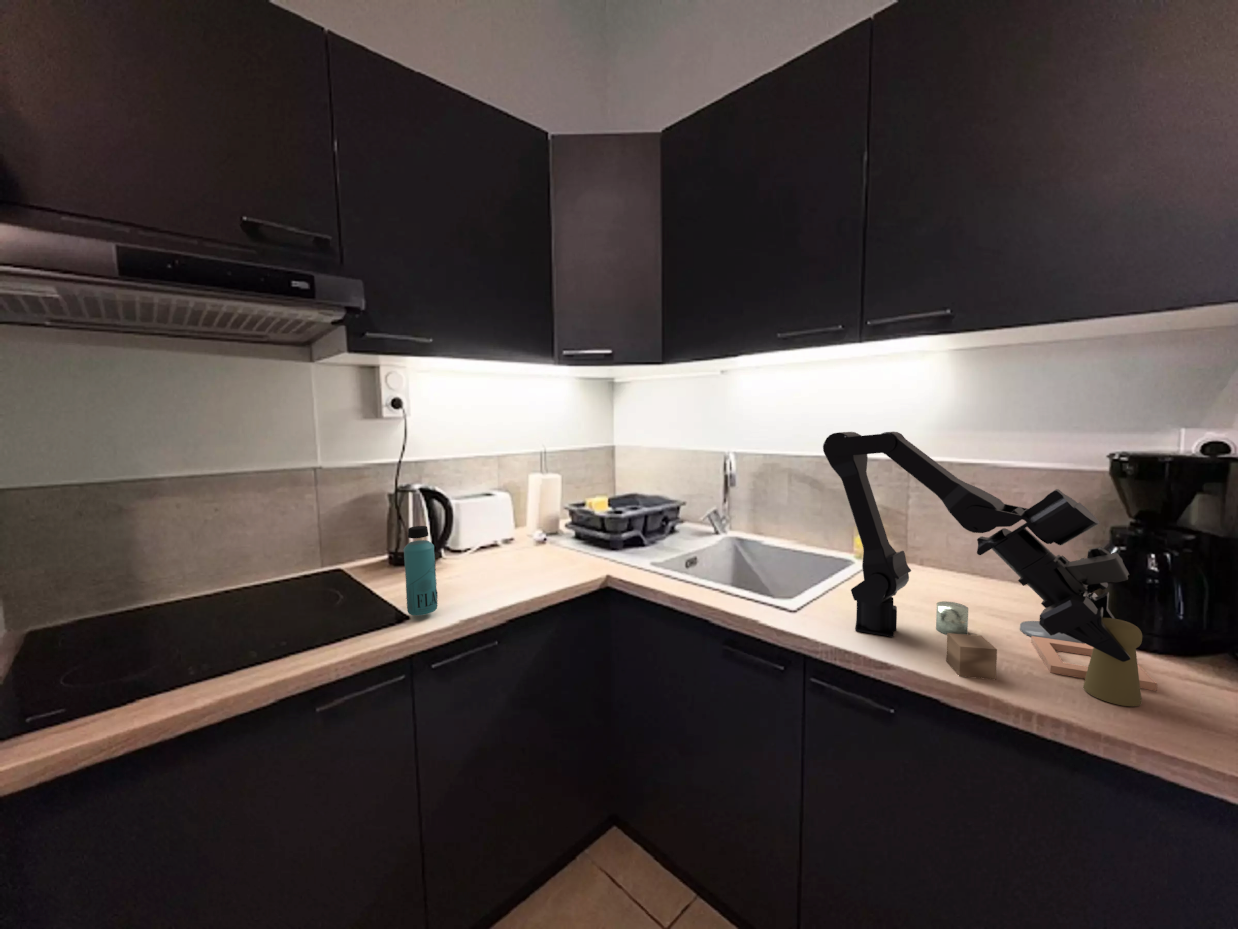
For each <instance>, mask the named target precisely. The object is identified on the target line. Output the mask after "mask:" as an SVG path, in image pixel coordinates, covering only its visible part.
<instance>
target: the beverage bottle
mask: <svg viewBox="0 0 1238 929" xmlns="http://www.w3.org/2000/svg"><path fill="white" fill-rule="evenodd" d="M426 537H429V529H428V526H426V525H416V526H411V527H409V528H408V529H407V538H408V539H421V540H414V541H410V542H408V543H407V544H406V545H405V546H404V548H403V558H404V559H403V561H404V575H405V593H406V594H405V595H406V596H405V597H406V598H405V599H406V609H407V610H406V611H407V613H408V614H409V615H411V616H423V615H429V614H431V613H433V612H435V611H436V610H438V599H439V598H438V597H439V596H438V588H437V585H438V584H437V583H438V582H437V581H438V580H437V574H436V572H437V567H436V566H437V565H436V564H437V563H436V555H435V545H434V544H433V543H432V542H431V541H430V540H426V539H423V540H422V538H426Z"/></svg>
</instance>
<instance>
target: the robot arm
mask: <svg viewBox="0 0 1238 929" xmlns="http://www.w3.org/2000/svg"><path fill="white" fill-rule="evenodd" d="M822 450H823V453H824V455H825V458H826V459H827V461H828V464H829V465H830V467H831V468H832V470H834V472H835V473H836V474H837V475H838V476H839V478H840V479H841V482H842V485H843V489H844V491H845V494H846V497H847V500H848V504H849V507H850V510H851V514H852V517H853V520H854V523H855V526H856V531H857V532H858V535H859V539H860V542H861V546H862V548H863V553H862V554H863V555H862V562H861V563H862V565H861V568H862V574H863V580H862V581H861V582H860V583H858V584H856V585H855V586H853V587H852V588H851V589H850V592H851V596H852V598H853V600H854V601H856V619H855V627H854V630H855V631H856V632H859V633H867V634H872V635H876V636H877V635H878V636H883V637H891V638H894V633H895V632H896V631H897V624H898V623H897V622H898V621H897V620H898V618H897V616H898V608H897V606H896V605H894V597H893V596H896V595H897V593H898V591H900V590H901V589H903V588H904V587H906V586H907V584H908V582H909V580H910V576H909V574H910V572H912V570H911V568H910V566H909V564H908V563H907V558H906V553H905V551H904V550H900V551H896V550H895V548H893V547H892V545H891V544H890V542H889V538H888V535H887V532H886V530H885V527H884V523H883V520H882V517H881V515H880V511H879V508H878V505H877V502H876V499H875V496H874V493H873V490H872V487H871V484H870V480H869V476H868V473H867V472H868V471H867V468H868V460H869V458H868V455H870V454H871V455H873V454H881V453H882V454H884V455H885V456H887V457H888V458H889V459H891V460H892V461H893V462H894V463H895V464H897V465H898V466H900V467H901V468H902V469H903V470H905V471H906V472H907V473H909V474H910V476H912V477H913V478H914V479H916V480H917V481H918V482H919V483H921V484H922V485H923V486H925V487H926V488H927V489H928V490H930V491H931V492H932V493H933V494H935V495H936V496H937V497H938V498H939V499H940V501H941V502H942V503H943V505H944V507H945V508H946V510H947V511H948V513H949V514H950V515H951V516H952V517H953V518H954V519H955V520H956V521H957V523H958V524H960V526H961V527H962V528H963V529H965V530H967V531H968V532H970V533H974V534H985V533H988V532H991V531H993V530H995V529H996V528H1001V529H1000V530H998V531H996V532H994V533H993V534H992V535H990V536H989V537H987V536H979V537H977V539H976V541H977V549H976V554H977V555H978V556H982V555H983V554H986V553H987V552H989V551H990V550H992V551H993V552H994V553H995V554H996V555H998V557H999V558H1000V559H1001V560H1002V561H1003V562H1004V563H1005V564H1006V565H1007V566H1008V567H1009V568H1011V569H1012V571H1013V572H1014V574H1016V575H1017V576H1018V577H1019V579H1018V580H1017V581H1018V582H1019V583H1020V585H1021V586H1026V585H1028V587H1029V588H1030V589H1031V590H1032V591H1034V593H1035V594H1036V595H1037V596H1038V597H1039V598H1040V599H1041V600H1042V601H1041V603H1040V604H1041V605H1042V607H1044V609H1043V610H1042V611H1041V613H1040V614H1039V620H1038V621H1039V624H1040V625H1041V626H1042V627H1043V628H1044V629H1045V630H1046V631H1047V632H1048V633H1049V634H1050V635H1055V634H1057V633H1061V634H1066V635H1068V636H1070V637H1072V638H1074V639H1077V640H1079V641H1081V642H1083V644H1087V645H1089V646H1092V647H1094V648H1096V649H1098V650H1100V651H1102V652H1104V653H1106V654H1108V655H1110V656H1112V657H1114V658H1116V659H1118V660H1120V661H1122V662H1125V661H1128V660H1130V659H1131V657H1130V656H1129V654H1128V653H1127V652H1126V651H1125V649H1124V648H1123V647H1122V645H1121V644H1120V643H1119V642H1118V640H1117V639H1116V638H1115V637H1114V635H1113V634H1112V633H1111V632H1110V631H1109V629H1108V628H1107V627H1106V626H1105V624H1104V623H1103V621H1102V619H1103V618H1113V619H1116V618H1115V616H1114V614H1112V612H1111V610H1110V609H1109V598H1110V597H1109V596H1110V592H1109V591H1106V592H1104V593H1101V594H1099V595H1097V594H1096V591H1098V590H1099V589H1101V590H1103V591H1104V590H1106V589H1107V588H1108V586H1109V583H1110V582H1111V583H1114V584H1115V583H1121V582H1126V581H1128V580H1129V577H1128V576H1130V573H1129V571H1128V569H1127V567H1126V566H1125V563H1124V562H1123V557H1121V555H1119V553H1116V552H1109V551H1108V550H1106V548H1104V547H1103V546H1099V547H1093V548H1089V550H1088V551H1087V557H1086V558H1085V557H1081V558H1080V559H1078V560H1076V559H1075V560H1072V561H1069V559H1067V557H1066V556H1064V555H1060V554H1057V555H1055V554H1054V553H1053V551H1051V550H1050V549H1049V548H1048V547H1046V546H1045V545H1044V544H1047V545H1052V544H1053V543H1054V544H1056V545H1058V546H1063V545H1065V544H1066V543H1069V542H1071V541H1072V540H1074V539H1076V538H1078V537H1079V536H1081V535H1083V534H1084V533H1087V532H1088V531H1089V530H1091V529H1093V528H1095V527H1097V526H1099V525H1100V524H1101V523H1100V521H1099V519H1098V518H1097V517H1096V516H1095V515H1094V514H1093V513H1092V512H1091V510H1089V509H1088V508H1087V507H1086V506H1085V505H1084V504H1082V503H1081V502H1077V501H1076V500H1074V499H1073V498H1072V497H1070V496H1069V495H1068V494H1066V493H1063V491H1061V489H1059V488H1056V489H1054V490H1053V491H1051V492H1050V493H1048V494H1047V495H1046V496H1045V497H1044V498H1042V499H1041V500H1039V501H1038V502H1037V503H1035V504H1034V505H1032V506H1030V507H1023V506H1017V505H1013V504H1007V503H1004V502H1003V501H1002V500H1001V499H1000V498H999V497H996V496H994V495H993V494H991V493H990V492H987V491H985V490H983V489H981V488H980V487H977V486H975V485H972V484H970V483H967V482H965V481H963V480H962V479H960V478H958V477H957V476H955V475H954V474H953V473H951V472H950V471H949V470H947V469H946V468H944V467H943V466H942V465H941V464H939V463H938V462H937V461H935V459H933V458H932V457H930V456H929V455H928V454H926V453H925V452H924V451H922V450H921V449H920V448H918V447H917V446H915V445H914V444H913V443H911V442H910V441H908V439H906V437H904V435H903V434H902V433H900V432H899V431H884V432H882V433H877V434H876V433H875V434H868V435H867V434H866V435H861V434H859V433H857V432H855V431H843V432H842V431H841V432H840V431H839V432H834V433H833V432H832V433H830V434H829V435H828V436H827V437H826V439H825V440H824V442H823V444H822ZM1022 520H1023V521H1024V522H1025V523H1023V524H1022V525H1020V526H1018V527H1017V528H1015V529H1013V530H1012V531H1011V530H1010V529H1008V528H1009V527H1012V526H1014V525H1015V524H1018V523H1019V522H1021V521H1022ZM1005 527H1008V528H1005ZM1027 528H1028V529H1029V530H1028V529H1027ZM1030 531H1031V532H1030ZM1032 533H1033V534H1032ZM1040 540H1041V541H1040ZM1042 542H1043V543H1044V544H1043V543H1042Z"/></svg>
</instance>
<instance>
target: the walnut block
mask: <svg viewBox="0 0 1238 929" xmlns="http://www.w3.org/2000/svg"><path fill="white" fill-rule="evenodd" d="M946 636H947V637H946V653H945V654H946V660H945V661H946V663H947V664H948V665H949V666H950V668H951V669H952V670H953V671H954V672H955V673H956V674H957V676H958V675H959V676H958V677H960V676H966V677H965V678H971V677H976V678H975V679H982V678H984V679H986V680H994V679H996V680H997V678H996V677H997V662H998V661H997V658H998V649H997V648H996V647H995V646H994V645H993V644H992V643H991V642H990V641H988V640H987V639H986V638H985V637H984V636H983V635H980V634H979V635H977V634H968V633H967V634H953V633H947V635H946Z"/></svg>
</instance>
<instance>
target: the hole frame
mask: <svg viewBox="0 0 1238 929" xmlns="http://www.w3.org/2000/svg"><path fill="white" fill-rule="evenodd" d="M1030 643H1031V645H1032V646H1033V647H1034V649H1035V651H1036V653H1037V654H1038V656H1039V658H1040V659H1041V661H1042V662H1043V663H1044V665H1045V667H1046V669H1047V670H1048V672H1049V673H1051V674H1055V675H1063V676H1069V677H1075V678H1079V679H1084V680H1085V678H1086V674H1087V670H1088V666H1087V665H1081V664H1075V663H1068V662H1063V660H1062V658H1061V657H1060V655H1058V652H1064V653H1072V654H1076V655H1077V654H1078V655H1084V656H1090V657H1091V655H1092V651H1093V648H1094V647H1092V646H1089V645H1087V644H1085V643H1076V642H1069V641H1062V640H1055V639H1049V638H1042V637H1035V636H1031V637H1030ZM1056 651H1058V652H1056ZM1137 665H1138V674H1139V683H1140V689H1143V690H1150V691H1155V692H1157V688H1158V687H1157V686H1158V685H1157V684H1158V683H1157V682H1156V681H1155V680H1154V679H1153V678H1152V677H1151V676H1150V674H1148V672H1146V670H1144V669H1143V668H1142V667H1141V665H1139V664H1138V663H1137Z"/></svg>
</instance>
